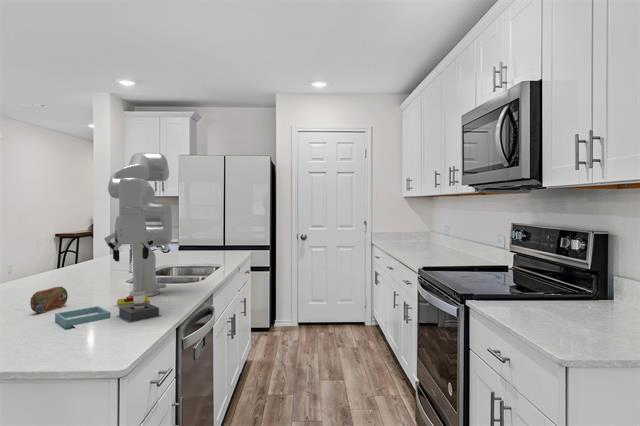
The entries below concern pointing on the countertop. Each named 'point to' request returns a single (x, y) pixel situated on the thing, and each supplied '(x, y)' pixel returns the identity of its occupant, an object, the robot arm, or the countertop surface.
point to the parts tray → (69, 323)
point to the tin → (49, 299)
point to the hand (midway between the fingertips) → (131, 260)
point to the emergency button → (129, 301)
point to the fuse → (139, 299)
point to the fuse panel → (138, 313)
